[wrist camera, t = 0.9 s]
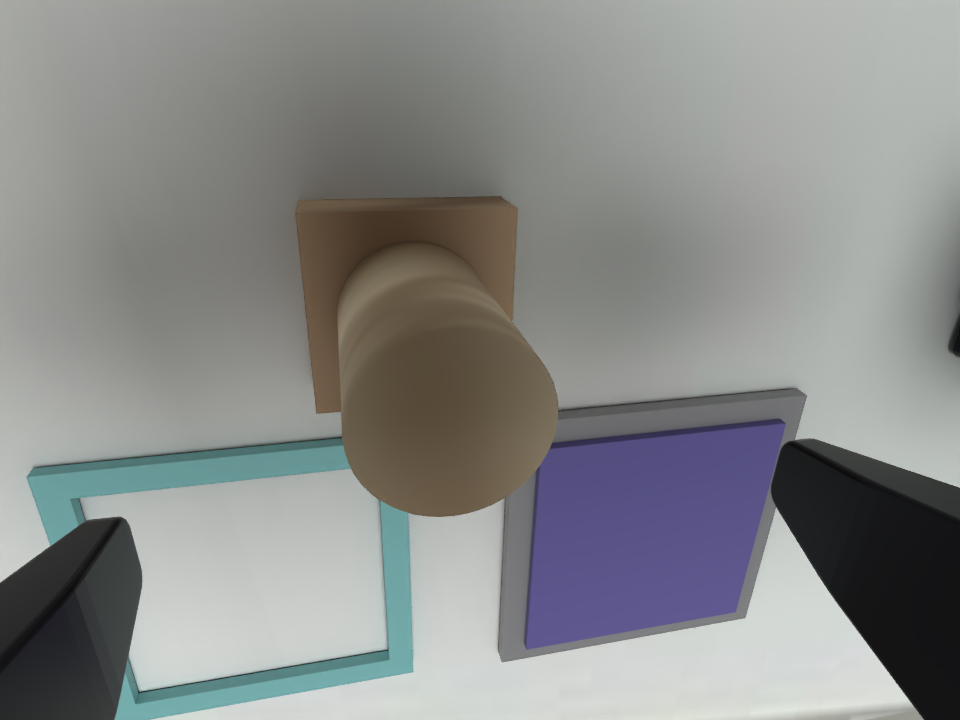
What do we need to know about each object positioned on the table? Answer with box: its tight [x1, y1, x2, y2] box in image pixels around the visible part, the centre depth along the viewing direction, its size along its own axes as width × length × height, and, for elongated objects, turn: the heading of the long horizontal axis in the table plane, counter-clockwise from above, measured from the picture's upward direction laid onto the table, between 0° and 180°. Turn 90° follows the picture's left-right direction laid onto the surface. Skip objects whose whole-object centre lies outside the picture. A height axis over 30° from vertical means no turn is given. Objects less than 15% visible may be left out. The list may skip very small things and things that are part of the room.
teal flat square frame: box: [27, 438, 413, 720], centre depth 19 cm, size 10×10×1 cm
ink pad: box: [498, 389, 807, 662], centre depth 21 cm, size 10×10×1 cm
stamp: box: [296, 196, 558, 517], centre depth 13 cm, size 5×5×7 cm
